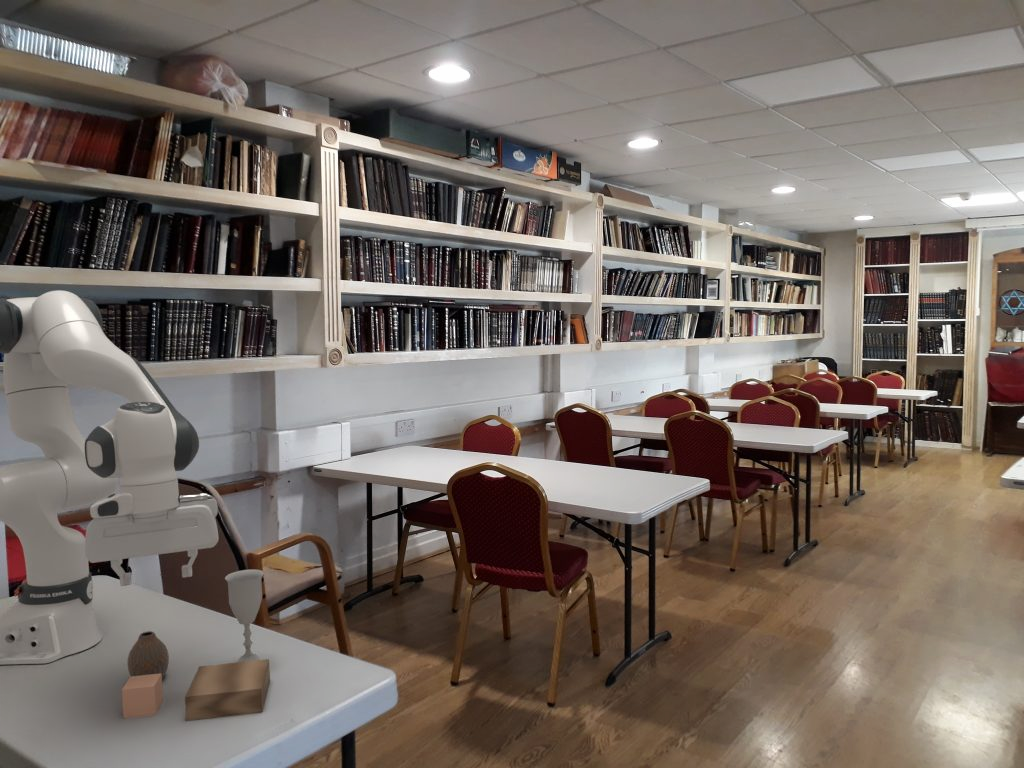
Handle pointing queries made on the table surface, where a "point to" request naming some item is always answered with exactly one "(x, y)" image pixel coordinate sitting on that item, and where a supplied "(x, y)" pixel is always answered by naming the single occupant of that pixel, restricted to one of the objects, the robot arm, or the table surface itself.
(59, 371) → the robot arm
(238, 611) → the chalice
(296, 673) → the table surface
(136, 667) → the vase
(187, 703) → the board
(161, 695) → the block
